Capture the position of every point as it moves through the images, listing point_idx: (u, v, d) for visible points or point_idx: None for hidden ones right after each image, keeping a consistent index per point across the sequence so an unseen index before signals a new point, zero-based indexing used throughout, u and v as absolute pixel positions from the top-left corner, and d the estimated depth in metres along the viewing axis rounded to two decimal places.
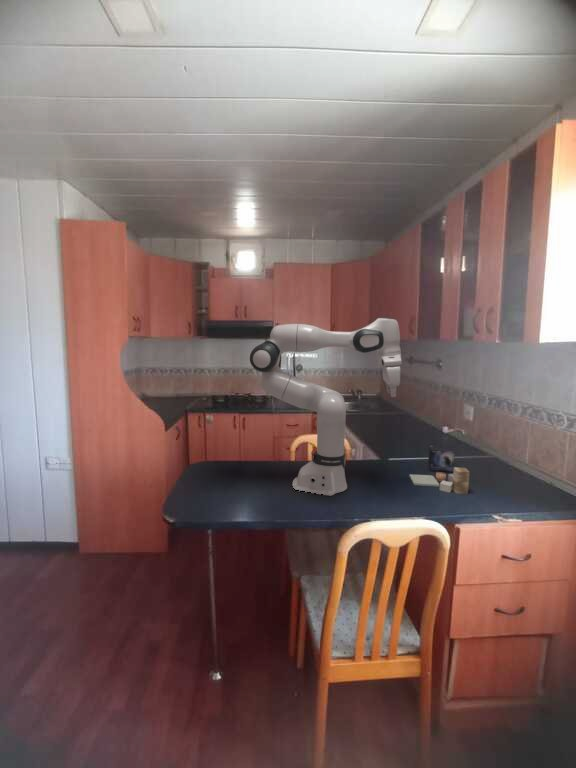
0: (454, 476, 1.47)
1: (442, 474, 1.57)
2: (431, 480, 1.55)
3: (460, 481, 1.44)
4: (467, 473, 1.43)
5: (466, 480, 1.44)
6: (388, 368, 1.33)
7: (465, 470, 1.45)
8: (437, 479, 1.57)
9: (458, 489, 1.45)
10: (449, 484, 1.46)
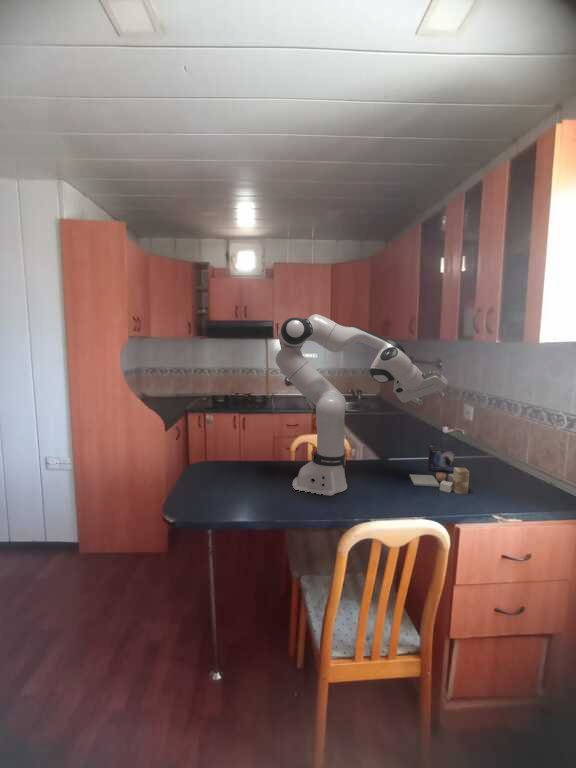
0: (454, 476, 1.47)
1: (442, 474, 1.57)
2: (431, 480, 1.55)
3: (460, 481, 1.44)
4: (467, 473, 1.43)
5: (466, 480, 1.44)
6: None
7: (465, 470, 1.45)
8: (437, 479, 1.57)
9: (458, 489, 1.45)
10: (449, 484, 1.46)
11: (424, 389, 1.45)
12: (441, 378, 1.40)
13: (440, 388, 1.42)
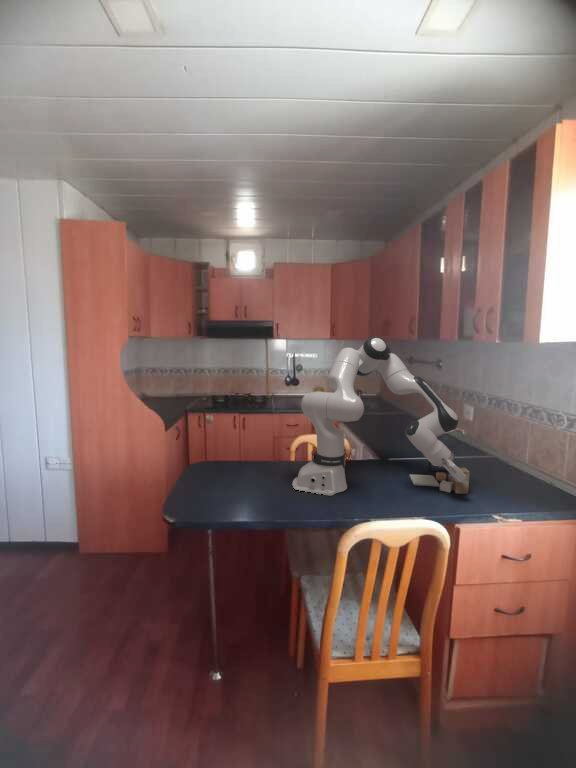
0: None
1: (442, 474, 1.57)
2: (431, 480, 1.55)
3: None
4: (467, 473, 1.43)
5: None
6: None
7: (465, 470, 1.45)
8: (437, 479, 1.57)
9: (458, 489, 1.45)
10: (449, 484, 1.46)
11: None
12: (454, 473, 1.36)
13: None
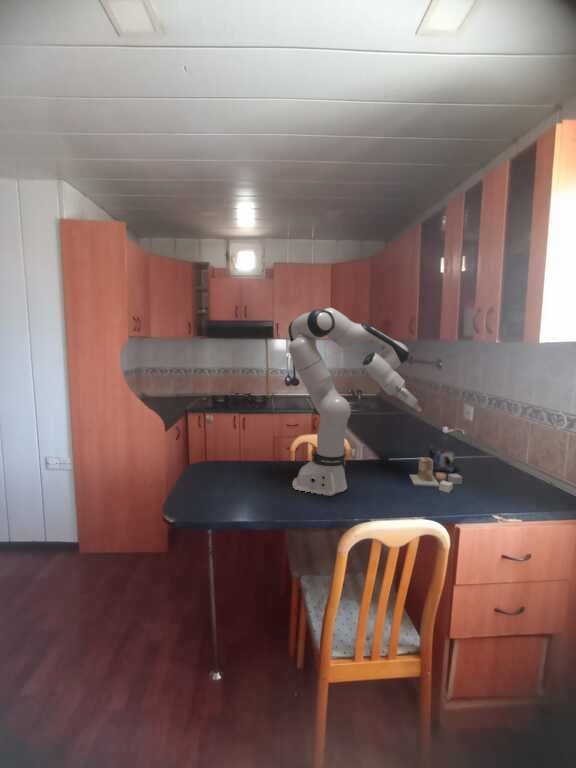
0: (419, 465, 1.57)
1: (442, 474, 1.57)
2: None
3: (425, 470, 1.54)
4: (431, 462, 1.53)
5: (430, 469, 1.54)
6: None
7: (429, 459, 1.55)
8: (437, 479, 1.57)
9: (423, 477, 1.54)
10: (449, 484, 1.46)
11: (401, 398, 1.52)
12: (406, 398, 1.44)
13: None
